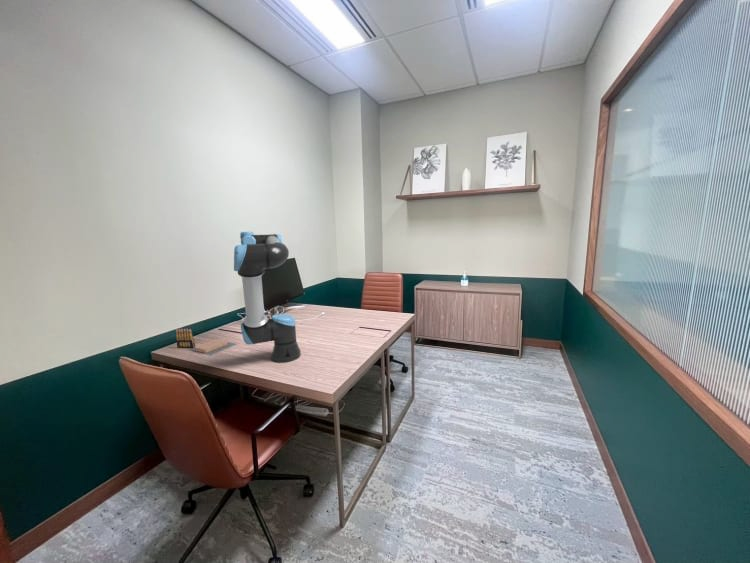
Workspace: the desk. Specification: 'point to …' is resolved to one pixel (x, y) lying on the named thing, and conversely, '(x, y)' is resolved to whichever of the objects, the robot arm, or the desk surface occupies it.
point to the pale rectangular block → (210, 345)
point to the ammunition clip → (184, 339)
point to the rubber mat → (216, 349)
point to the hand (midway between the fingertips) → (253, 295)
